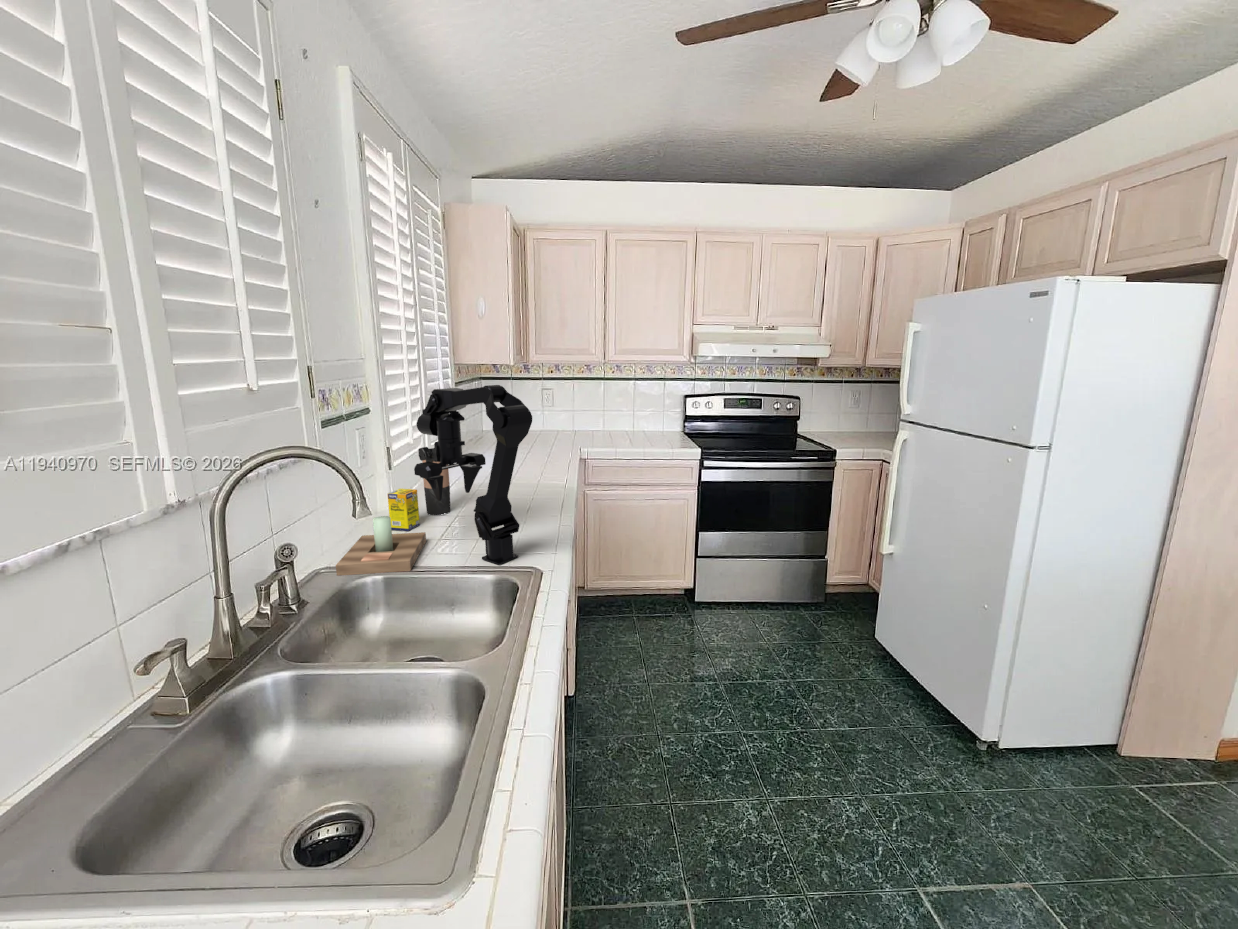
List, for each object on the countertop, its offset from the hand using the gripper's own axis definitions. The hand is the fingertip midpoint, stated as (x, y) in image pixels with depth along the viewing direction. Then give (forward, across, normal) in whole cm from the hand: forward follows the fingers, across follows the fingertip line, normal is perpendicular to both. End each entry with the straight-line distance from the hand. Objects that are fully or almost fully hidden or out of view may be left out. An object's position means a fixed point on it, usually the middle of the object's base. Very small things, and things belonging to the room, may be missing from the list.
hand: (453, 496), depth 139 cm
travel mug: (+13, -15, -27) cm, 33 cm away
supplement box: (+13, 0, -22) cm, 26 cm away
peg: (+13, +16, -7) cm, 22 cm away
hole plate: (+13, +16, -7) cm, 22 cm away
